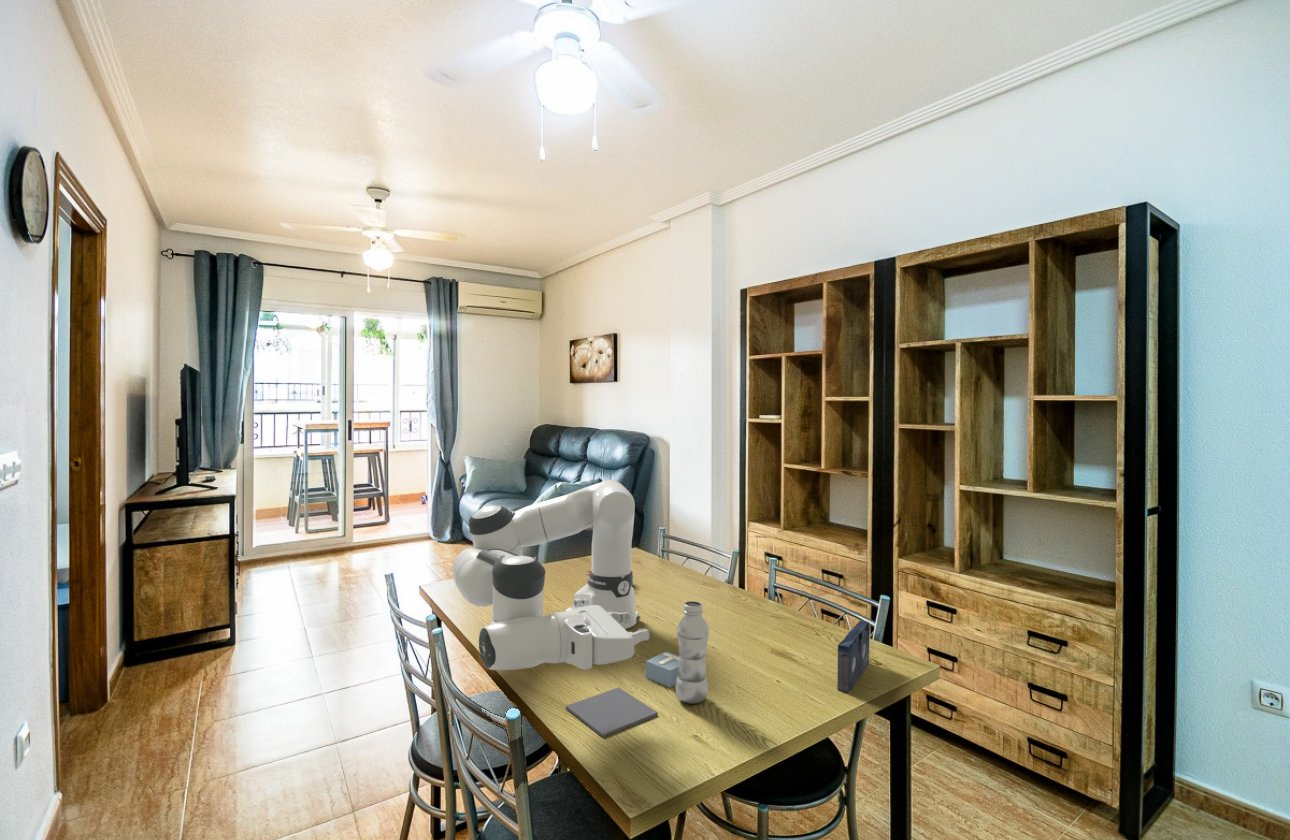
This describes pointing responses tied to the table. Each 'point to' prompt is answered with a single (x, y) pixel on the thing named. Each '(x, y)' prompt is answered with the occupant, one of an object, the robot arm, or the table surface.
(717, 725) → the table surface
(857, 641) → the vhs cassette tape
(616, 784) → the table surface
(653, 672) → the letter block
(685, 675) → the plastic bottle
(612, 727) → the charcoal mat
